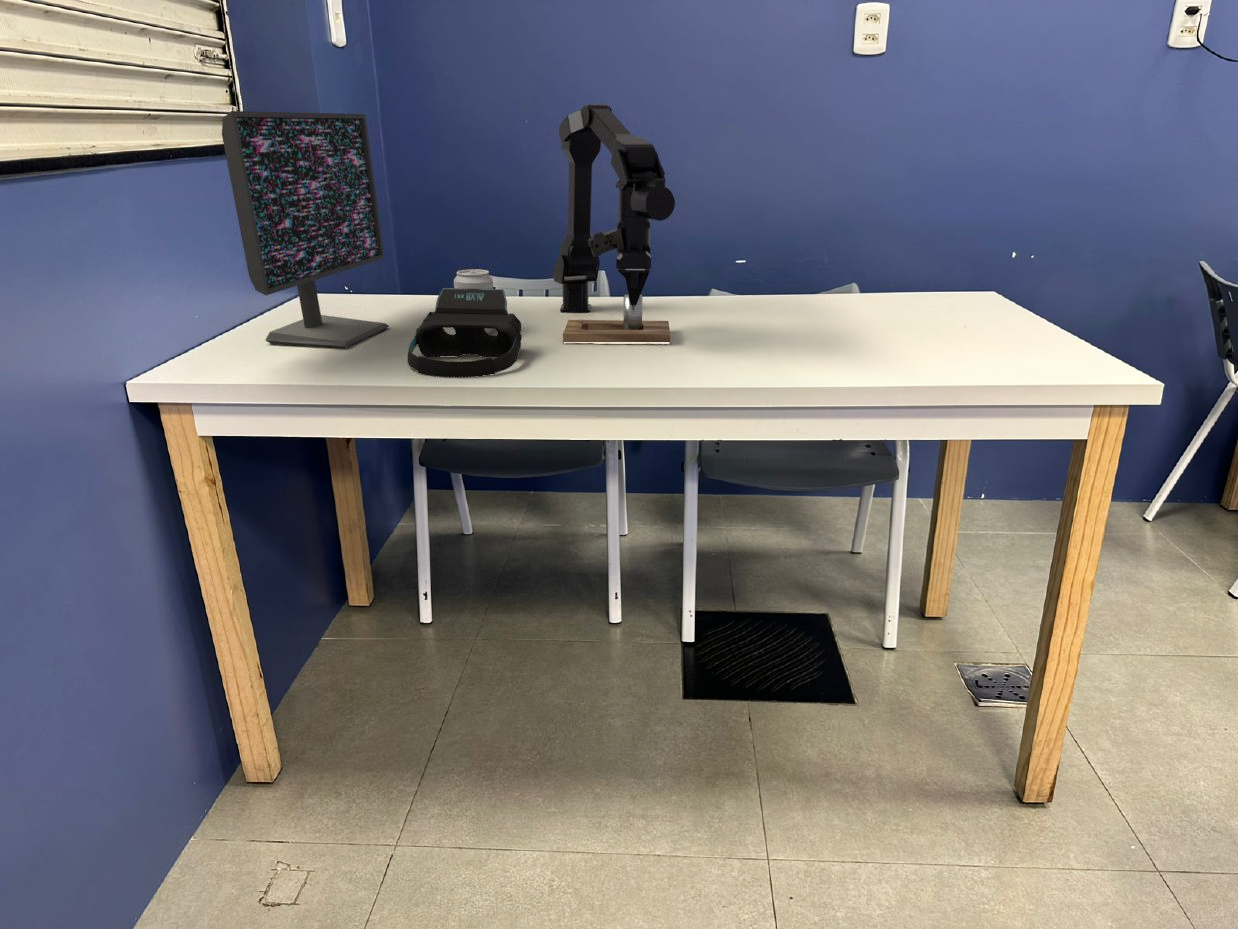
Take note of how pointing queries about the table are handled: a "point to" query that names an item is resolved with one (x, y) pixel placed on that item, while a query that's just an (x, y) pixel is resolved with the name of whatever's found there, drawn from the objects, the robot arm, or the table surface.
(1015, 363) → the table surface
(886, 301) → the table surface
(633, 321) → the peg
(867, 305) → the table surface
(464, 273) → the can
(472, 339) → the virtual reality headset
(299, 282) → the computer monitor
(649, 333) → the keyhole board
